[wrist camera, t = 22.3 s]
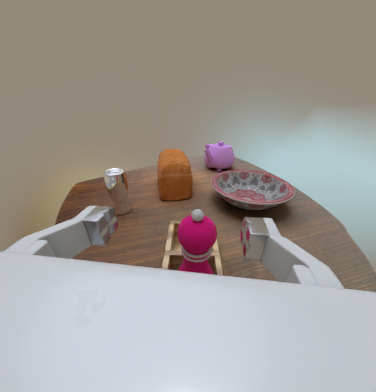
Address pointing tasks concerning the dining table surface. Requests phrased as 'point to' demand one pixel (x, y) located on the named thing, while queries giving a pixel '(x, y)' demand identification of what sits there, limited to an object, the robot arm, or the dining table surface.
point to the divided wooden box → (175, 257)
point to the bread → (174, 175)
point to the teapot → (219, 156)
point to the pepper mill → (196, 242)
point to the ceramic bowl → (252, 189)
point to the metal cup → (118, 189)
